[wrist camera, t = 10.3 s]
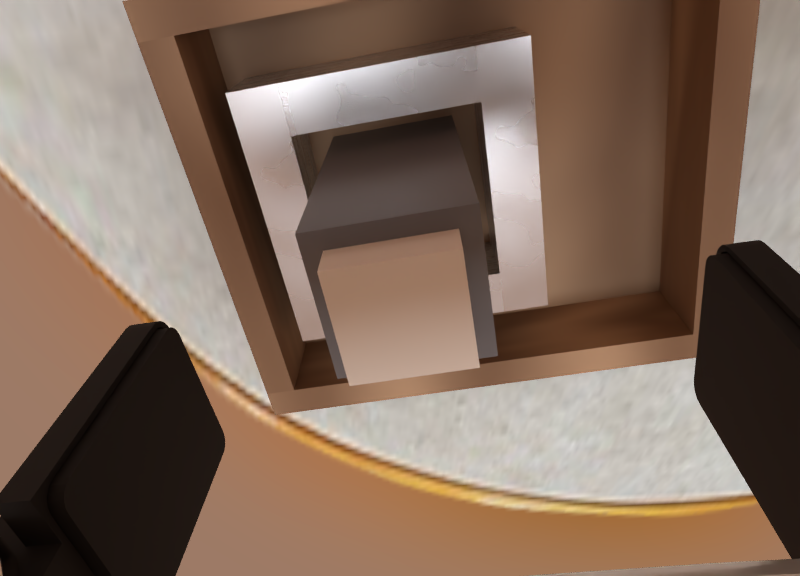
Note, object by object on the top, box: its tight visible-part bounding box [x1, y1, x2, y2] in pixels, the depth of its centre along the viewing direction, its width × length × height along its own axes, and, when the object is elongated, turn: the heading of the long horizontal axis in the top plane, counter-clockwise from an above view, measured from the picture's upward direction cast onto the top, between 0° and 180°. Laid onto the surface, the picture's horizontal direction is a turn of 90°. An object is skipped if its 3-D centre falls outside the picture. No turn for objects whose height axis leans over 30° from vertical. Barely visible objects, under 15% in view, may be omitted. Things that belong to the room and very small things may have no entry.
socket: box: [225, 27, 548, 341], centre depth 19 cm, size 9×9×2 cm
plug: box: [295, 115, 498, 386], centre depth 16 cm, size 4×4×9 cm
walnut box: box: [122, 0, 760, 415], centre depth 19 cm, size 16×14×4 cm
